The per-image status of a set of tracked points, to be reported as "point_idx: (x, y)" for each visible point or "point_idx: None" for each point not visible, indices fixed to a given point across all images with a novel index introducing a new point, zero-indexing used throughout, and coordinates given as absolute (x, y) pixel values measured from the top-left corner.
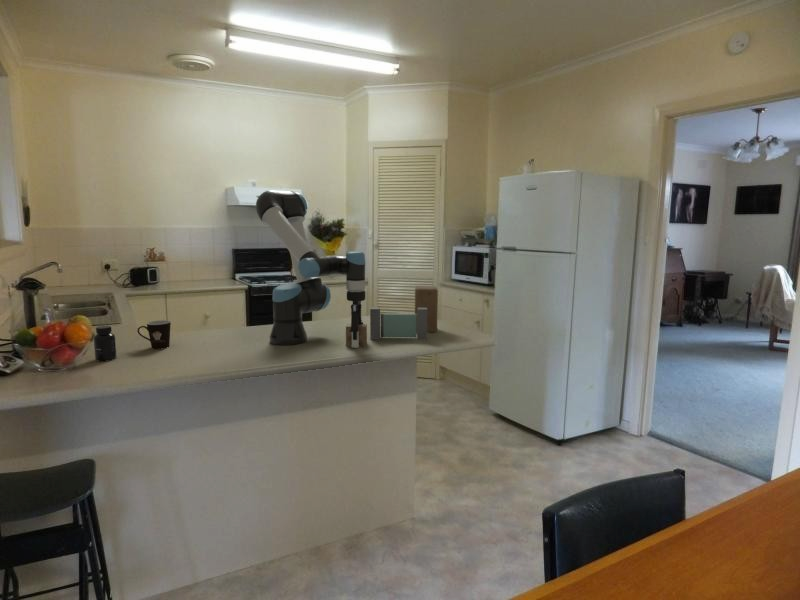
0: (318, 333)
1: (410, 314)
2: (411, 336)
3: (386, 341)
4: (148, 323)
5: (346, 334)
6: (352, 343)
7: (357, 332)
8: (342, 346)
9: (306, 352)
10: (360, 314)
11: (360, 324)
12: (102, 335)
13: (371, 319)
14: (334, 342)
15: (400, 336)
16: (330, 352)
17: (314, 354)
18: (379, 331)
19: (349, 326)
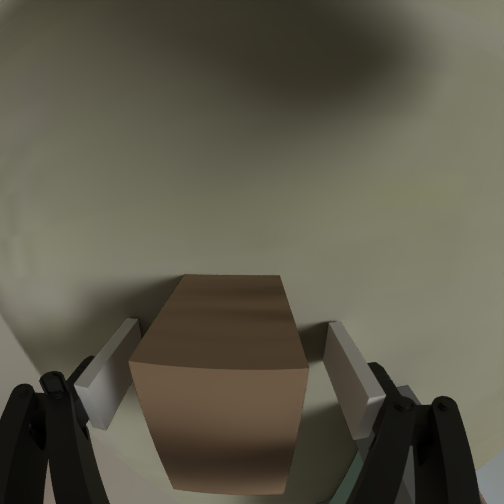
0: (492, 80)
1: None
2: (333, 499)
3: (299, 453)
4: None
5: (159, 318)
6: (116, 336)
7: (94, 417)
8: (165, 250)
9: (45, 66)
10: (417, 502)
11: (268, 471)
12: None
13: (402, 489)
14: (292, 169)
15: (344, 482)
16: (35, 196)
17: (12, 122)
18: (361, 457)
19: (145, 398)
